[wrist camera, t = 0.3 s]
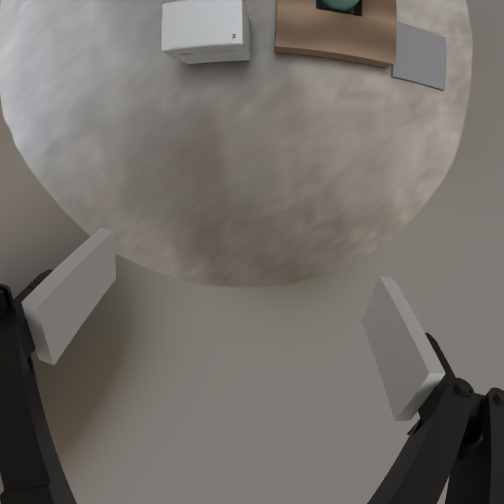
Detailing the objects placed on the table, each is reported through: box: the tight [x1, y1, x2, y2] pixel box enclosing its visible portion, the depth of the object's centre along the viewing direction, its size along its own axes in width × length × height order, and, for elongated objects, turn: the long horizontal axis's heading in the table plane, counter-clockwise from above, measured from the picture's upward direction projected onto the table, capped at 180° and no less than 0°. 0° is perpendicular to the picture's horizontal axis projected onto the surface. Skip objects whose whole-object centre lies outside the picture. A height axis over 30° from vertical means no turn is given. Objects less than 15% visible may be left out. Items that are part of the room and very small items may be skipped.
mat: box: [391, 22, 446, 90], centre depth 31 cm, size 8×8×1 cm
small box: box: [161, 0, 251, 64], centre depth 28 cm, size 8×6×10 cm
